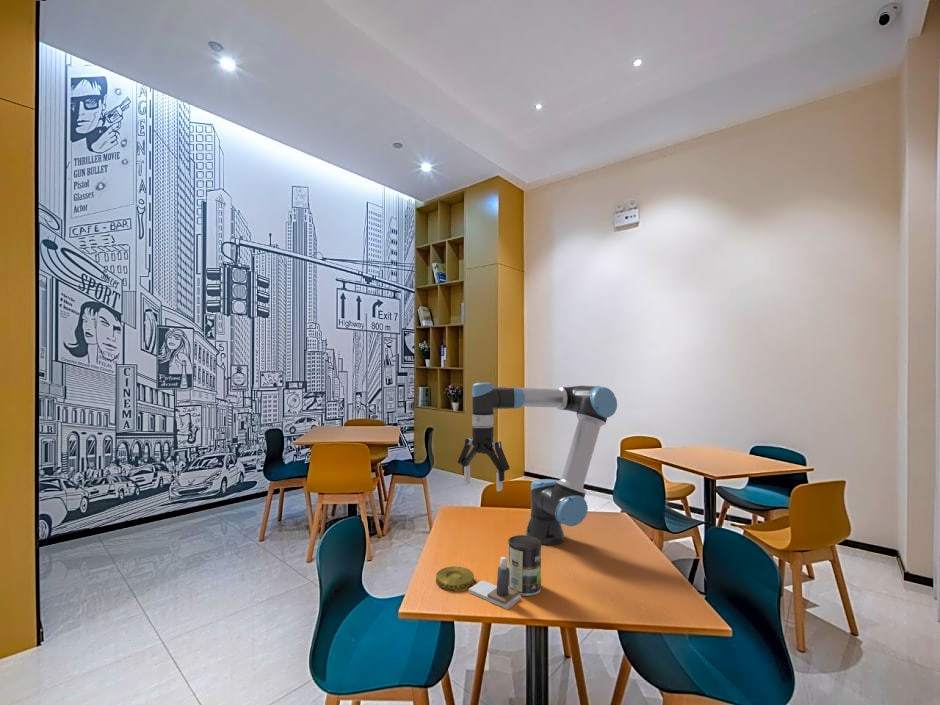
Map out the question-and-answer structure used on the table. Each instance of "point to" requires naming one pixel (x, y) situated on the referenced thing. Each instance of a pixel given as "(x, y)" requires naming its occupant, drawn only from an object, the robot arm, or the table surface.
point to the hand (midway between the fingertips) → (482, 487)
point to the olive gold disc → (454, 578)
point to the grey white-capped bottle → (503, 578)
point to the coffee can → (525, 565)
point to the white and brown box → (494, 594)
